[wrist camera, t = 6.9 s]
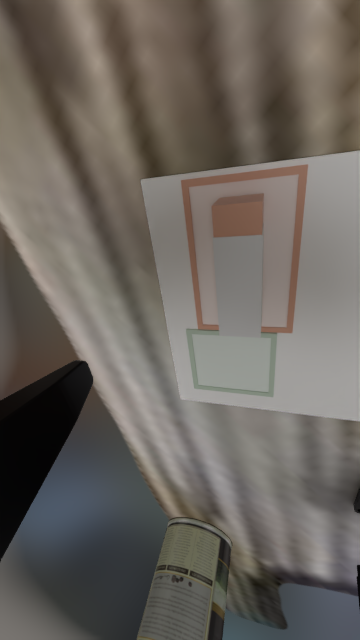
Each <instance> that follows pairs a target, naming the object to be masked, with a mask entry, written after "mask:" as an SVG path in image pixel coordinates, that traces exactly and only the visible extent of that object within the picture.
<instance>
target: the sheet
mask: <svg viewBox="0 0 360 640" xmlns="http://www.w3.org/2000/svg"><path fill="white" fill-rule="evenodd" d="M140 181H141V187H142V192H143V197H144V203H145V208H146V214H147V219H148V225H149V230H150V236H151V241H152V247H153V252H154V258H155V263H156V269H157V274H158V279H159V285H160V290H161V296H162V301H163V307H164V312H165V318H166V323H167V329H168V334H169V340H170V345H171V350H172V356H173V361H174V367H175V372H176V378H177V383H178V389H179V394H180V399H183V400H191V401H199V402H207V403H215V404H223V405H231V406H239V407H247V408H255V409H263V410H272V411H280V412H288V413H296V414H304V415H312V416H320V417H328V418H336V419H344V420H352V421H360V150H358V151H351V152H343V153H336V154H328V155H321V156H313V157H306V158H298V159H290V160H283V161H275V162H268V163H260V164H253V165H245V166H238V167H230V168H222V169H215V170H207V171H200V172H192V173H185V174H177V175H170V176H162V177H154V178H147V179H141V180H140ZM263 193H264V211H263V223H264V250H263V291H262V323H261V338H255V337H235V336H219V323H218V309H217V295H216V281H215V266H214V252H213V222H212V207H211V206H212V205H213V204H214V203H215V202H216V201H217V200H218V199H219V198H224V197H233V196H243V195H253V194H263Z"/></svg>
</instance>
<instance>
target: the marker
mask: <svg viewBox="0 0 360 640" xmlns="http://www.w3.org/2000/svg"><path fill="white" fill-rule="evenodd" d="M211 207H212V222H213V252H214V266H215V281H216V295H217V309H218V323H219V336H235V337H255V338H261V323H262V291H263V250H264V223H263V211H264V193H263V194H253V195H243V196H233V197H224V198H219V199H218V200H217V201H216V202H215V203H214V204H213V205H212V206H211Z"/></svg>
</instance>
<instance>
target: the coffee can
mask: <svg viewBox="0 0 360 640" xmlns="http://www.w3.org/2000/svg"><path fill="white" fill-rule="evenodd" d="M231 548H232V543H231V540H230V539H229V537H228V536H227V535H226V534H225V533H223V532H222V531H221V530H219V529H218V528H216V527H214V526H212V525H210V524H208V523H205V522H202V521H199V520H196V519H191V518H174V519H172V520H170V521H169V522H168V526H167V530H166V534H165V537H164V541H163V545H162V548H161V552H160V556H159V560H158V563H157V566H156V570H155V574H154V578H153V582H152V585H151V589H150V592H149V596H148V600H147V603H146V607H145V611H144V614H143V618H142V622H141V625H140V629H139V633H138V637H137V640H222V636H223V625H224V615H225V606H226V596H227V585H228V575H229V565H230V555H231Z"/></svg>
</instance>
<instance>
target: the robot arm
mask: <svg viewBox="0 0 360 640" xmlns="http://www.w3.org/2000/svg"><path fill="white" fill-rule="evenodd" d="M92 384H93V376H92V374H91V371H90V368H89V366H88V364H87V362H86V361H80V360H76V361H73V362H71V363H69V364H67V365H65V366H63V367H62V368H60V369H58V370H56V371H54V372H52V373H50V374H49V375H47V376H45V377H43V378H41V379H39V380H37V381H36V382H34V383H32V384H30V385H28V386H26V387H24V388H23V389H21V390H19V391H17V392H15V393H13V394H11V395H10V396H8V397H6V398H4V399H2V400H0V561H1V558H2V557H3V555H4V553H5V552H6V550H7V548H8V546H9V544H10V543H11V541H12V539H13V537H14V535H15V533H16V532H17V530H18V528H19V526H20V524H21V522H22V521H23V519H24V517H25V515H26V513H27V511H28V510H29V508H30V506H31V504H32V502H33V500H34V499H35V497H36V495H37V493H38V491H39V489H40V488H41V486H42V484H43V482H44V480H45V478H46V477H47V475H48V473H49V471H50V469H51V467H52V466H53V464H54V462H55V460H56V458H57V456H58V455H59V453H60V451H61V449H62V447H63V445H64V444H65V442H66V440H67V438H68V436H69V434H70V433H71V431H72V429H73V427H74V425H75V423H76V421H77V419H78V417H79V415H80V412H81V410H82V408H83V405H84V403H85V401H86V398H87V396H88V394H89V391H90V389H91V387H92ZM354 510H355V512H357V513H360V489H359V492H358V495H357V497H356V500H355V503H354ZM357 571H358V576H357V585H358V596H359V607H360V565H357Z"/></svg>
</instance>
